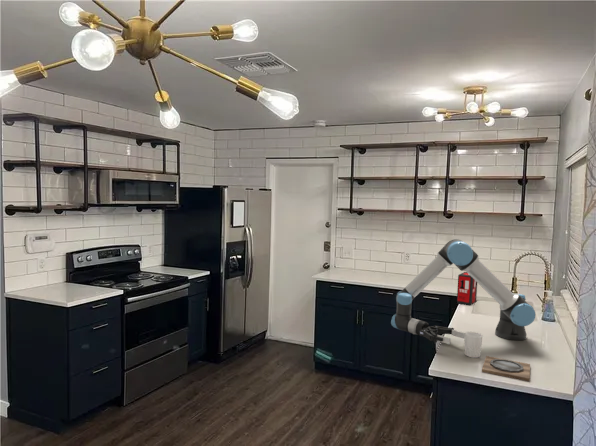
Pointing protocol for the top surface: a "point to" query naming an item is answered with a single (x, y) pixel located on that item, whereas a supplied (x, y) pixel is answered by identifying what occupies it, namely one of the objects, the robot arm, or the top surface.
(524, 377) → the coaster board
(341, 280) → the top surface
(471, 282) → the cleaning product box
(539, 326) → the top surface
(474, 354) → the white cup
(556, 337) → the top surface
